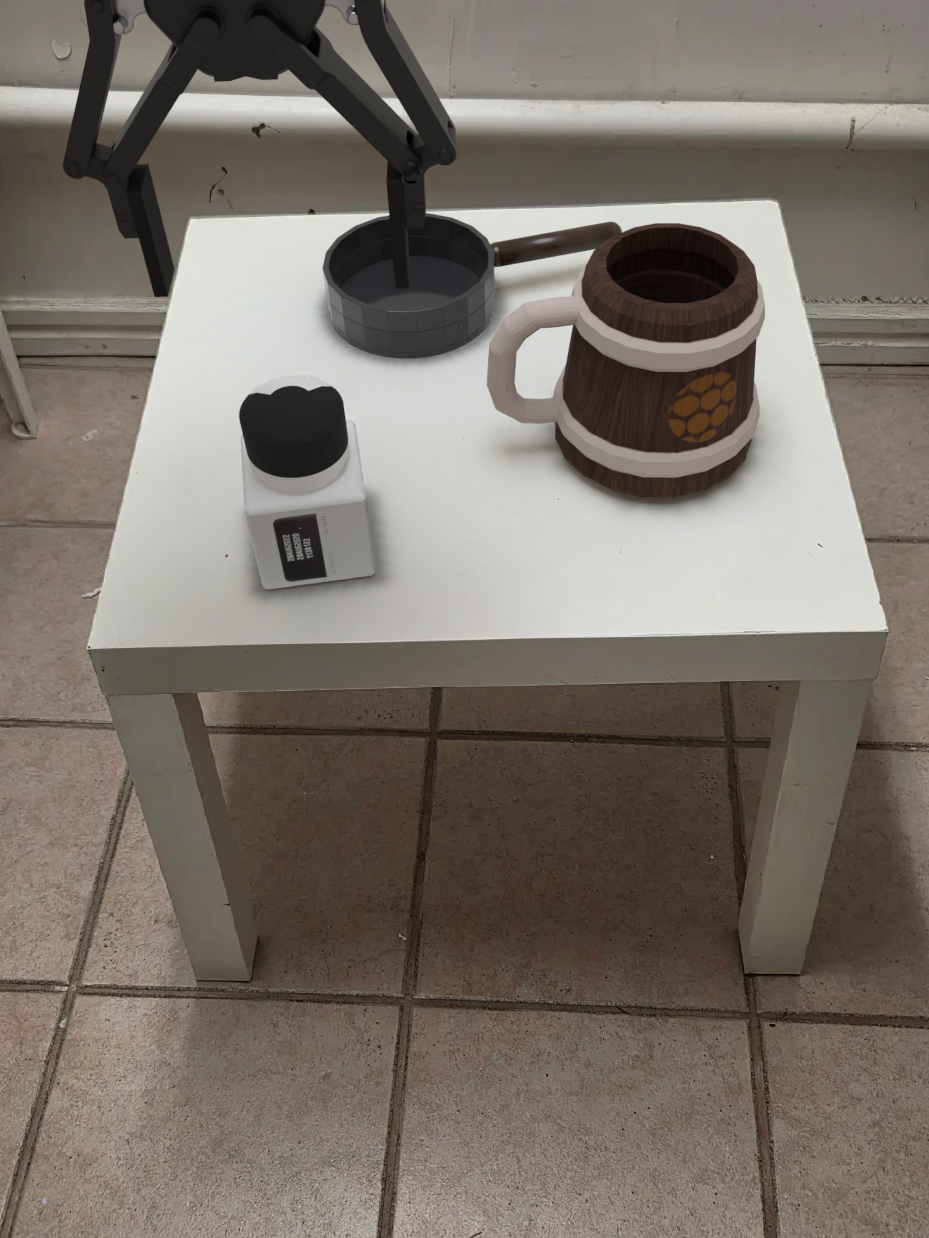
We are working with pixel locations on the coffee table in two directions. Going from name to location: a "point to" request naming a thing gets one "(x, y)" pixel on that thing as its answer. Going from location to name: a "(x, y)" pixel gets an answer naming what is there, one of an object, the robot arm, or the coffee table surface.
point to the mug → (647, 362)
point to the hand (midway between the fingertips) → (283, 279)
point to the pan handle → (553, 243)
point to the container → (303, 484)
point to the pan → (411, 287)
